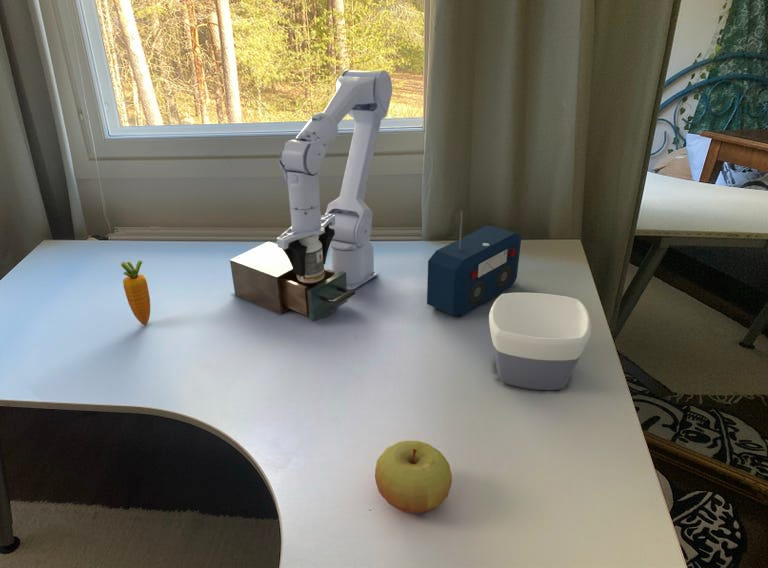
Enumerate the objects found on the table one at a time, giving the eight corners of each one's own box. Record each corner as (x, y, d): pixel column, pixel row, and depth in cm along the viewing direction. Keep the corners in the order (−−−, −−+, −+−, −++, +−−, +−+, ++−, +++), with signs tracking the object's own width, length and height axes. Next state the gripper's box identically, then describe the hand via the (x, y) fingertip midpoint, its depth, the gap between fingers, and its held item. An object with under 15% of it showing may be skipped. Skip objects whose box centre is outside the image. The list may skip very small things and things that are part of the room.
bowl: (583, 404, 97) (595, 344, 92) (481, 392, 102) (486, 334, 97) (578, 350, 110) (589, 295, 104) (487, 341, 115) (492, 288, 109)
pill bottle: (329, 273, 127) (326, 228, 122) (316, 286, 123) (313, 239, 118) (304, 269, 130) (300, 225, 125) (291, 282, 126) (287, 236, 121)
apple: (436, 466, 89) (438, 422, 85) (460, 518, 81) (464, 473, 77) (368, 476, 88) (367, 433, 84) (386, 530, 80) (385, 485, 76)
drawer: (363, 307, 128) (362, 277, 124) (329, 328, 122) (327, 298, 118) (300, 284, 139) (298, 256, 135) (267, 302, 133) (263, 274, 129)
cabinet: (318, 292, 137) (315, 256, 132) (280, 314, 130) (276, 277, 126) (272, 275, 146) (268, 241, 141) (234, 294, 139) (229, 259, 135)
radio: (458, 323, 121) (464, 226, 110) (423, 308, 127) (425, 215, 117) (522, 285, 131) (532, 193, 121) (486, 273, 137) (494, 184, 127)
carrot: (159, 318, 133) (145, 254, 125) (153, 331, 129) (137, 265, 121) (137, 319, 134) (121, 255, 126) (130, 331, 129) (113, 266, 122)
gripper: (293, 221, 112) (299, 288, 119) (345, 196, 120) (348, 260, 127) (266, 213, 116) (273, 278, 123) (318, 190, 125) (322, 252, 132)
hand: (310, 269), depth 126 cm, fingers closed on pill bottle, 5 cm apart
